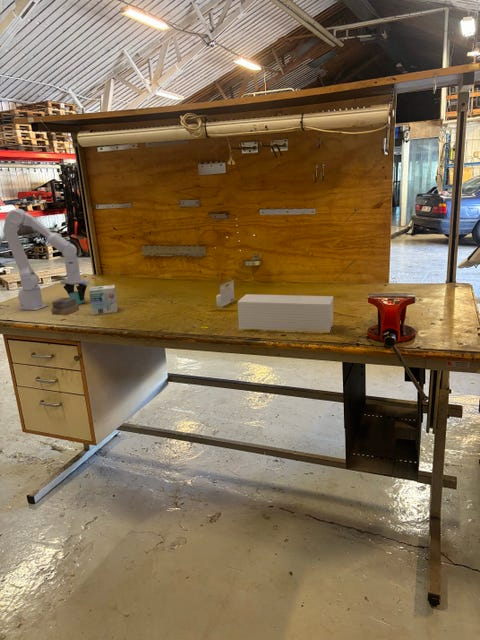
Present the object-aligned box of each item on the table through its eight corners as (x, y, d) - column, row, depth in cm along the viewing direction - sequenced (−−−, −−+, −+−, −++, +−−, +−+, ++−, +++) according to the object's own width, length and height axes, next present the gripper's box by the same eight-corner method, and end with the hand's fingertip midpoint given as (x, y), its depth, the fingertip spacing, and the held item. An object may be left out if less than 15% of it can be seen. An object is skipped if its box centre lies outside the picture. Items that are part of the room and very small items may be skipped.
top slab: (53, 308, 194) (51, 301, 194) (62, 304, 201) (61, 297, 200) (67, 308, 193) (66, 301, 192) (76, 304, 199) (75, 297, 198)
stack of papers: (239, 330, 161) (237, 301, 158) (247, 321, 171) (245, 294, 168) (329, 335, 152) (330, 304, 149) (333, 325, 162) (333, 296, 158)
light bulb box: (92, 315, 190) (88, 290, 187) (92, 311, 197) (88, 287, 193) (118, 312, 193) (114, 287, 190) (117, 308, 199) (114, 284, 196)
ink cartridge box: (216, 307, 192) (215, 284, 189) (230, 300, 201) (229, 279, 199) (221, 307, 191) (220, 285, 188) (235, 301, 200) (233, 279, 197)
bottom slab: (52, 315, 195) (51, 308, 194) (64, 310, 202) (63, 303, 201) (67, 316, 193) (66, 309, 192) (79, 310, 200) (78, 304, 199)
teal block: (70, 303, 210) (69, 293, 208) (76, 301, 214) (75, 291, 213) (79, 304, 208) (77, 293, 207) (85, 301, 213) (83, 291, 211)
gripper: (91, 269, 208) (95, 298, 212) (65, 269, 213) (70, 297, 217) (82, 272, 202) (86, 301, 206) (55, 272, 206) (60, 301, 210)
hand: (77, 299), depth 211 cm, fingers closed on teal block, 5 cm apart
